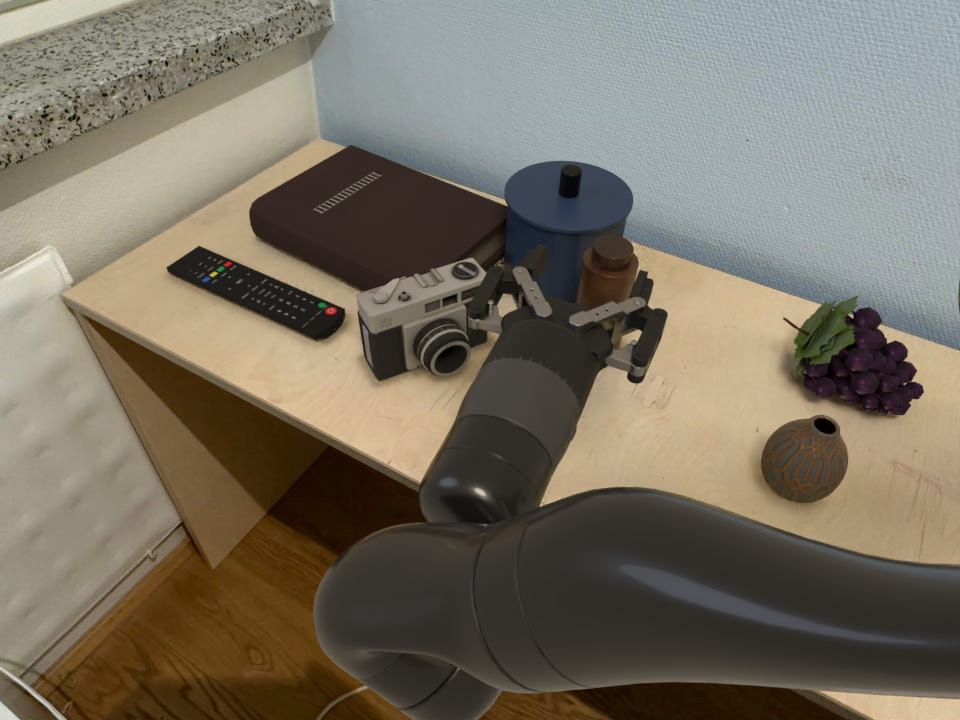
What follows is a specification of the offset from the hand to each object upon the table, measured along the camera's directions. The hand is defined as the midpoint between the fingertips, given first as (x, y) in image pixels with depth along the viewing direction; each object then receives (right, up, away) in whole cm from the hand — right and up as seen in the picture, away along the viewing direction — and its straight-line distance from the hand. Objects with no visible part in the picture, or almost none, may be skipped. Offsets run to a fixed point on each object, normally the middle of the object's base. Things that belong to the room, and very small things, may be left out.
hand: (591, 266), depth 55 cm
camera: (-15, -8, +19) cm, 25 cm away
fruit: (+29, -11, +17) cm, 35 cm away
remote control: (-36, 0, +25) cm, 44 cm away
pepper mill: (+4, -6, +21) cm, 22 cm away
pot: (+1, +4, +30) cm, 31 cm away
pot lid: (+1, +11, +23) cm, 26 cm away
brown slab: (-22, +7, +33) cm, 40 cm away
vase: (+20, -20, +8) cm, 29 cm away
